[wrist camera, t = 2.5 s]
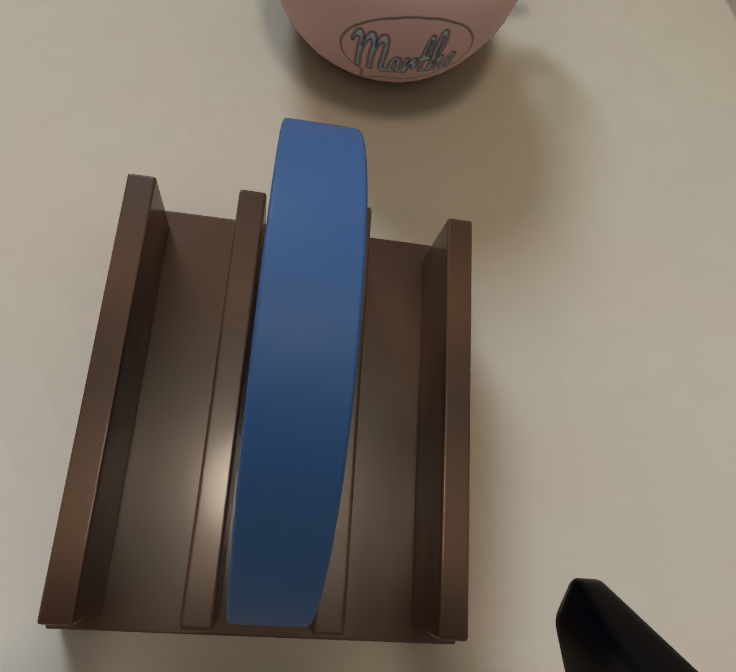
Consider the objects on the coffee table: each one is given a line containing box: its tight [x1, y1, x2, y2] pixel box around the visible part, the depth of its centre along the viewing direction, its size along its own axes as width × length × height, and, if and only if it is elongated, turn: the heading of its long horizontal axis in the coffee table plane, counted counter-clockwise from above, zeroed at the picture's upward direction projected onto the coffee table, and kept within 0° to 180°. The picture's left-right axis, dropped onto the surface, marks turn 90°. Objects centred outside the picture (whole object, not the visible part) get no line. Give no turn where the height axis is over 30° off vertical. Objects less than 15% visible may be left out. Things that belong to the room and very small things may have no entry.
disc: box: [227, 118, 367, 627], centre depth 15 cm, size 11×2×11 cm, turn 177°
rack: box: [37, 174, 472, 644], centre depth 19 cm, size 13×12×4 cm
